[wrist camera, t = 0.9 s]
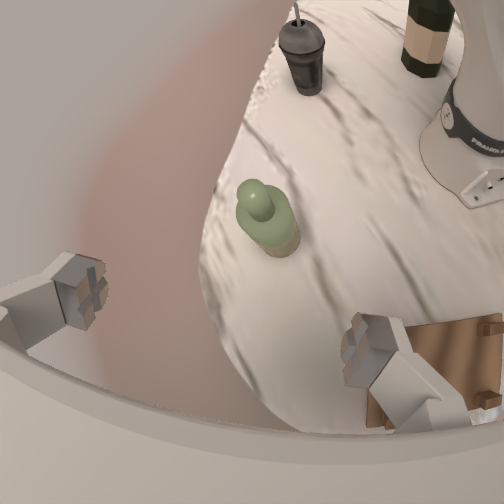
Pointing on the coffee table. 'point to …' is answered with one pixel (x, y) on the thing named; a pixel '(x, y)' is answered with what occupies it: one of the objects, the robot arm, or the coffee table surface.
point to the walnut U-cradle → (457, 361)
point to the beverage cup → (303, 53)
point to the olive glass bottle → (267, 218)
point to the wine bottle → (426, 35)
